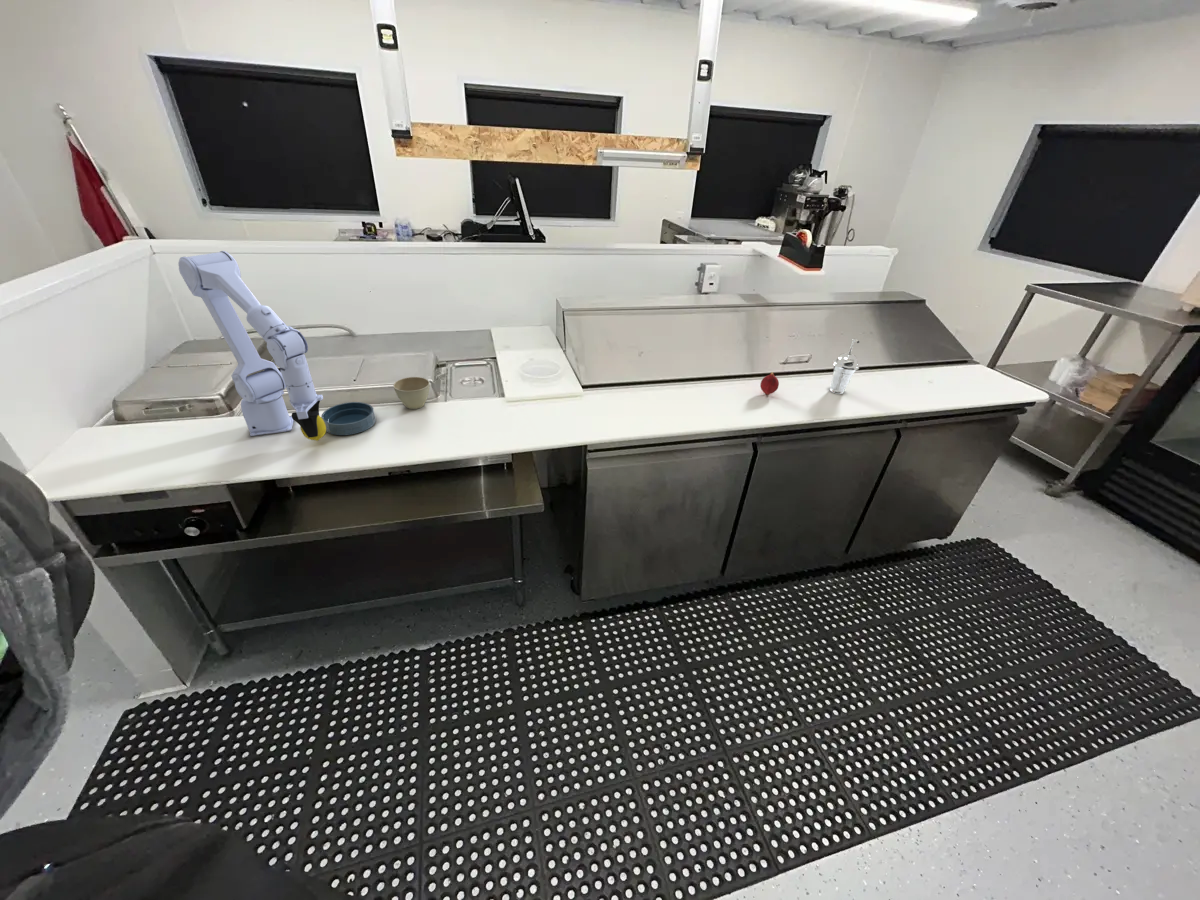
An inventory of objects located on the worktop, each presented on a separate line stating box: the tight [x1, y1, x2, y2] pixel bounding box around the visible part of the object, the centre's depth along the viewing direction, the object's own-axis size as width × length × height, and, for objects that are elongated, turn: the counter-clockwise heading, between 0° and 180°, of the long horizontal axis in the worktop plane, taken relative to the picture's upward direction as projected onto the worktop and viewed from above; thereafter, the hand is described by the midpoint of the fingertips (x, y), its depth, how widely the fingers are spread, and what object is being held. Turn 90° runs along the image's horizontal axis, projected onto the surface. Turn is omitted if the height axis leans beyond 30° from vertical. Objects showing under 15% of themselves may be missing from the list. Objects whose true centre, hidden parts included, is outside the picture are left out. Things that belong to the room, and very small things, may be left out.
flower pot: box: [392, 376, 431, 410], centre depth 144 cm, size 10×10×7 cm
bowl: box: [320, 401, 377, 436], centre depth 134 cm, size 13×13×4 cm
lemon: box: [299, 414, 327, 442], centre depth 123 cm, size 6×6×8 cm
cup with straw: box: [829, 338, 860, 395], centre depth 164 cm, size 8×9×20 cm
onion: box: [759, 371, 780, 396], centre depth 162 cm, size 6×6×8 cm
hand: (314, 430), depth 123 cm, fingers closed on lemon, 5 cm apart
